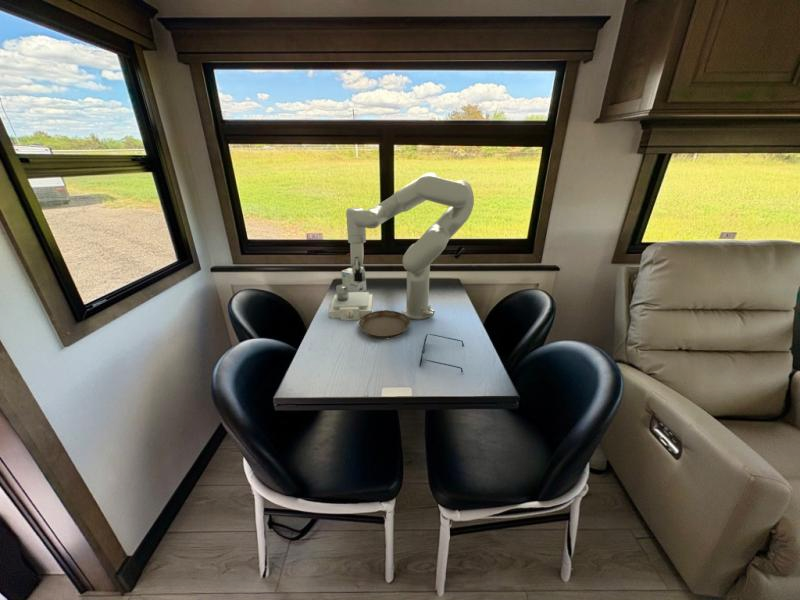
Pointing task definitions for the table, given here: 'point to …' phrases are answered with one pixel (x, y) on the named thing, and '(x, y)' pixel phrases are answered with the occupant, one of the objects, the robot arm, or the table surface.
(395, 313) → the plant saucer
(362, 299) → the scale
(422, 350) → the sunglasses
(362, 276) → the cylinder
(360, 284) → the light bulb box
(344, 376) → the table surface
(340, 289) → the ball
